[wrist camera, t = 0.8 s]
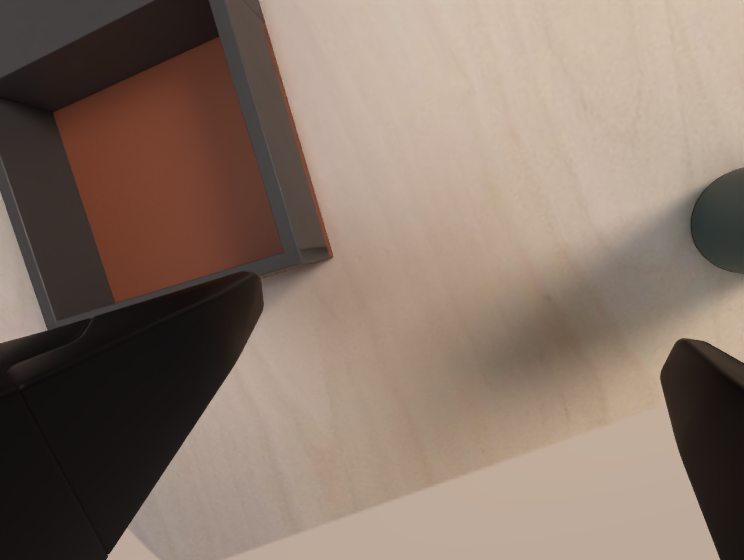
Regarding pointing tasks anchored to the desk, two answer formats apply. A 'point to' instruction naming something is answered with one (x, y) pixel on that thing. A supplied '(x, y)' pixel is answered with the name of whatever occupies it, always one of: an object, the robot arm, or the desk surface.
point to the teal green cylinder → (721, 222)
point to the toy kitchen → (147, 150)
